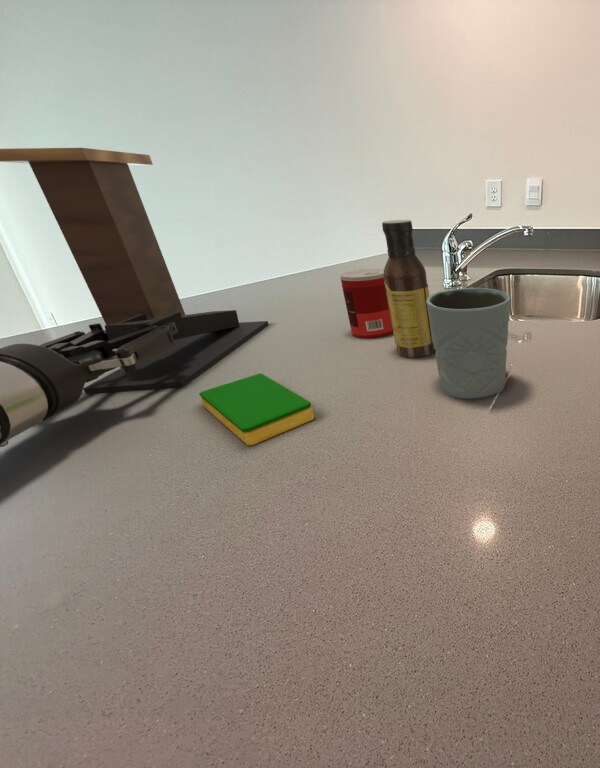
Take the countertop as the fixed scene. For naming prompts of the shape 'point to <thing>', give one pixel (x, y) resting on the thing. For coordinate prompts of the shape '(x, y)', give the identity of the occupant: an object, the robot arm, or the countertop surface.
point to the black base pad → (179, 361)
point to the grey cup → (470, 340)
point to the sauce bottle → (406, 291)
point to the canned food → (367, 303)
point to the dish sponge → (257, 408)
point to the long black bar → (193, 323)
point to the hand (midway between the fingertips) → (163, 321)
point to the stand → (105, 227)
